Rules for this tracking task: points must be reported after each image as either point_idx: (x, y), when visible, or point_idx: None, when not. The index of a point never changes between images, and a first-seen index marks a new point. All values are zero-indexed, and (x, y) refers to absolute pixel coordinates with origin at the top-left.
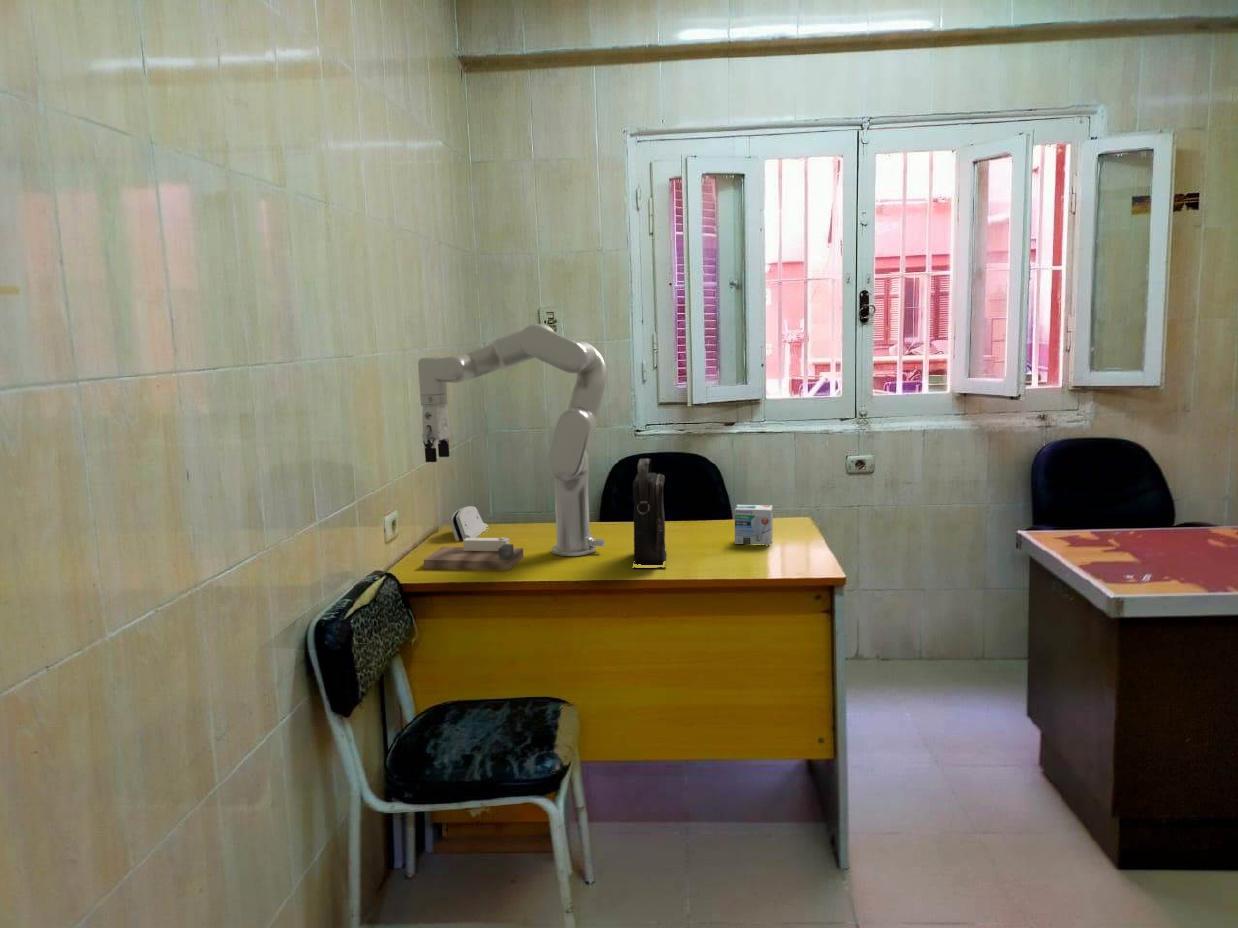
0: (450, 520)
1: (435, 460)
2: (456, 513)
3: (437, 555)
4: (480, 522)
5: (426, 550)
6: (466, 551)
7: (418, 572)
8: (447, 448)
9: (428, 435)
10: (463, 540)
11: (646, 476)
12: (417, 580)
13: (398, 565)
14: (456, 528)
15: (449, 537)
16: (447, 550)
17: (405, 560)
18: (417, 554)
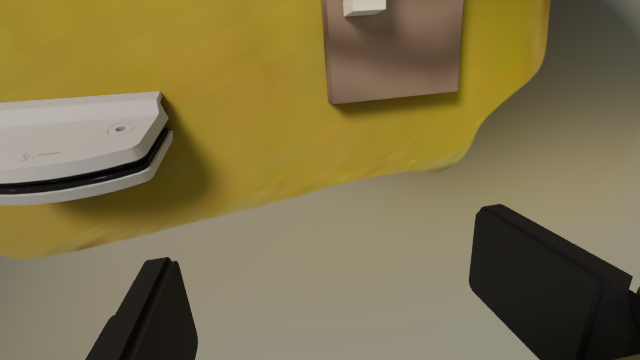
0: (148, 176)
1: (502, 212)
2: (95, 179)
3: (418, 74)
4: None
5: (288, 169)
6: None
7: (472, 87)
8: (152, 326)
9: None
10: (385, 7)
11: None
12: (529, 58)
13: (420, 163)
14: (156, 148)
15: None
16: (368, 70)
17: (381, 170)
18: (327, 171)
